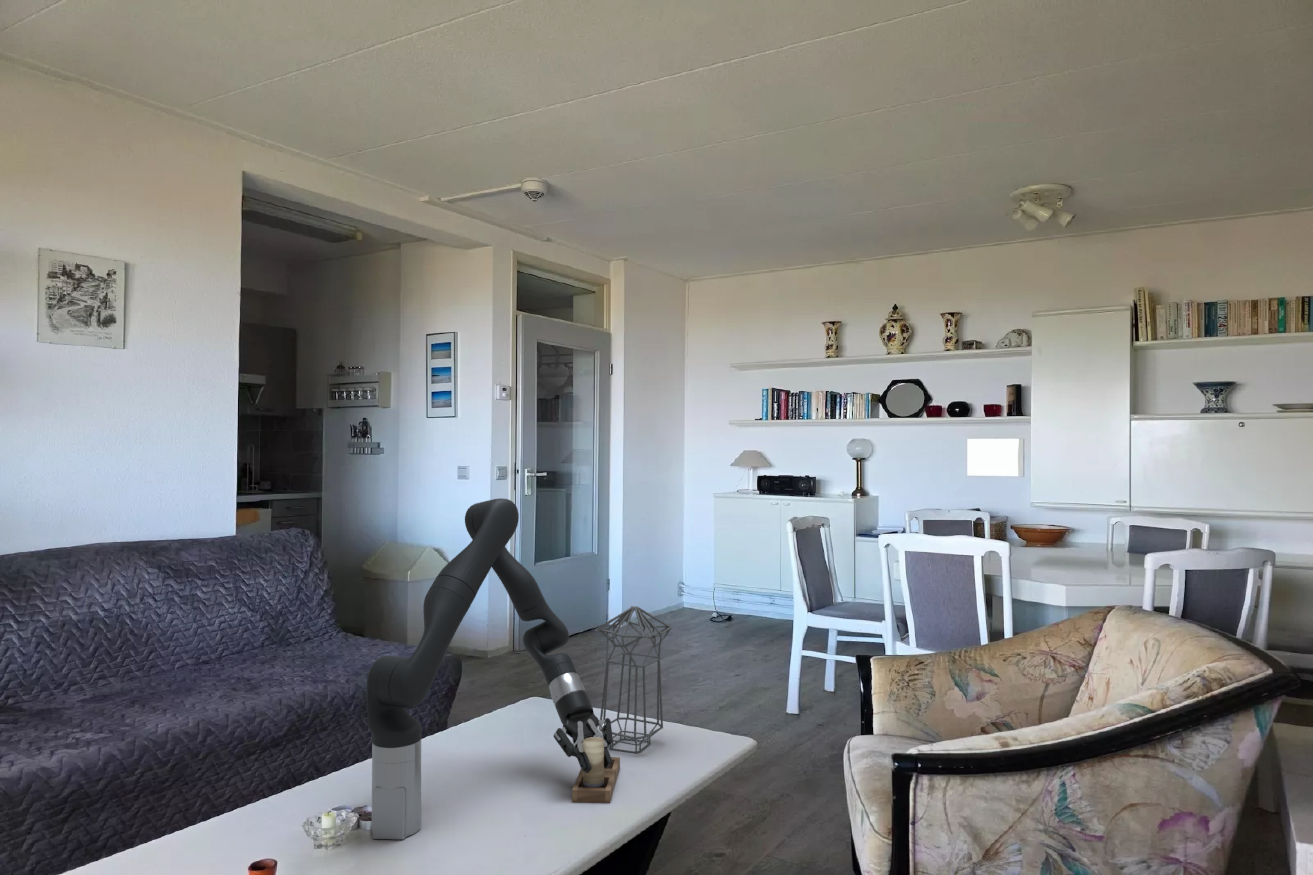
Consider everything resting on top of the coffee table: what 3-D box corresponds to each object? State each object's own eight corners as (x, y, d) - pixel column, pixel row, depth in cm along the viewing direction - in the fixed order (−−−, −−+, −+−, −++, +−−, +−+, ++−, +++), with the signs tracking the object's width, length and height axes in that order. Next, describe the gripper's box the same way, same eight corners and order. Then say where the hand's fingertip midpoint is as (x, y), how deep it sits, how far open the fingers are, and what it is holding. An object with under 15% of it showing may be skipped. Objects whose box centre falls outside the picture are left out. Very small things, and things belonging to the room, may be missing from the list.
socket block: (610, 802, 179) (610, 790, 179) (572, 802, 179) (572, 790, 179) (619, 768, 199) (619, 757, 199) (585, 767, 199) (585, 756, 199)
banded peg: (602, 791, 181) (602, 744, 181) (582, 791, 181) (582, 743, 182) (605, 783, 186) (605, 737, 186) (585, 783, 186) (585, 736, 186)
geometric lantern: (618, 733, 224) (621, 599, 225) (672, 743, 217) (676, 605, 218) (587, 751, 210) (591, 608, 211) (644, 762, 203) (648, 614, 204)
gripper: (547, 694, 186) (575, 766, 176) (603, 684, 194) (633, 752, 184) (536, 713, 190) (563, 784, 180) (591, 702, 198) (620, 770, 188)
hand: (598, 768), depth 182 cm, fingers closed on banded peg, 4 cm apart
